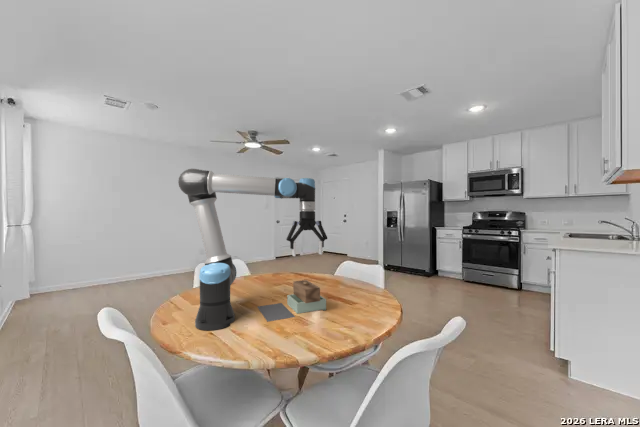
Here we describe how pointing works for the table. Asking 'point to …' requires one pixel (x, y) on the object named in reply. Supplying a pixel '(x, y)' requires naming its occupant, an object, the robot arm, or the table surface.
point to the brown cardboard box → (306, 291)
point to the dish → (305, 304)
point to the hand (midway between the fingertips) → (307, 255)
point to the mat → (275, 312)
